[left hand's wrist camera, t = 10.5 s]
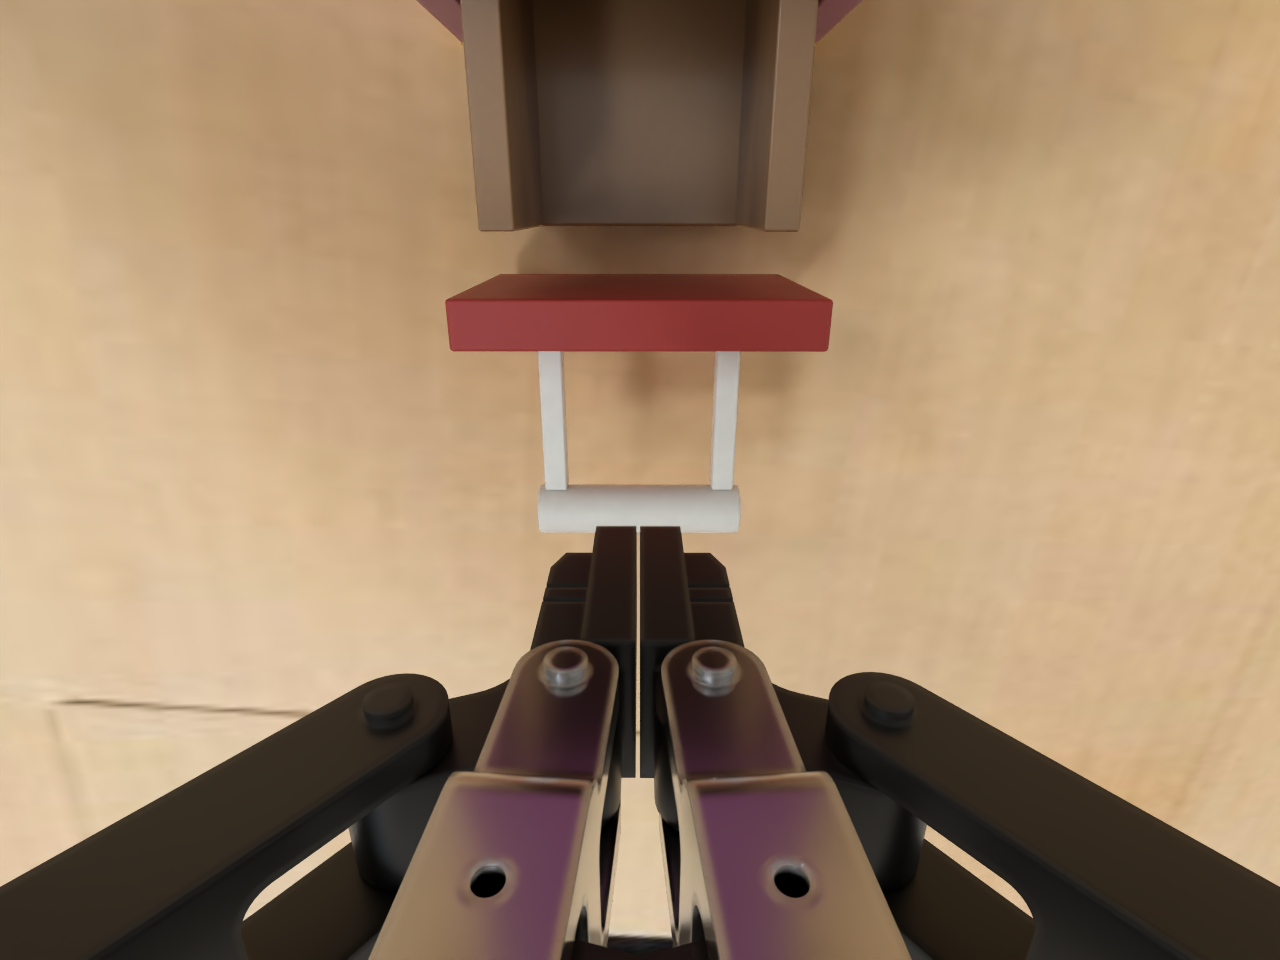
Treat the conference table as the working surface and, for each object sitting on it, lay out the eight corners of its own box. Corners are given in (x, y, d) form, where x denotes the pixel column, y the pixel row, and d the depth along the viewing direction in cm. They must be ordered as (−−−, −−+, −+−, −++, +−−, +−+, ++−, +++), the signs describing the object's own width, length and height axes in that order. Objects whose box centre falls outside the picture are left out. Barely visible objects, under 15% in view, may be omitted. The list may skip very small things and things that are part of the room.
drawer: (765, 471, 24) (806, 558, 18) (513, 471, 24) (470, 558, 18) (831, -414, 16) (948, -795, 10) (447, -415, 16) (330, -797, 10)
